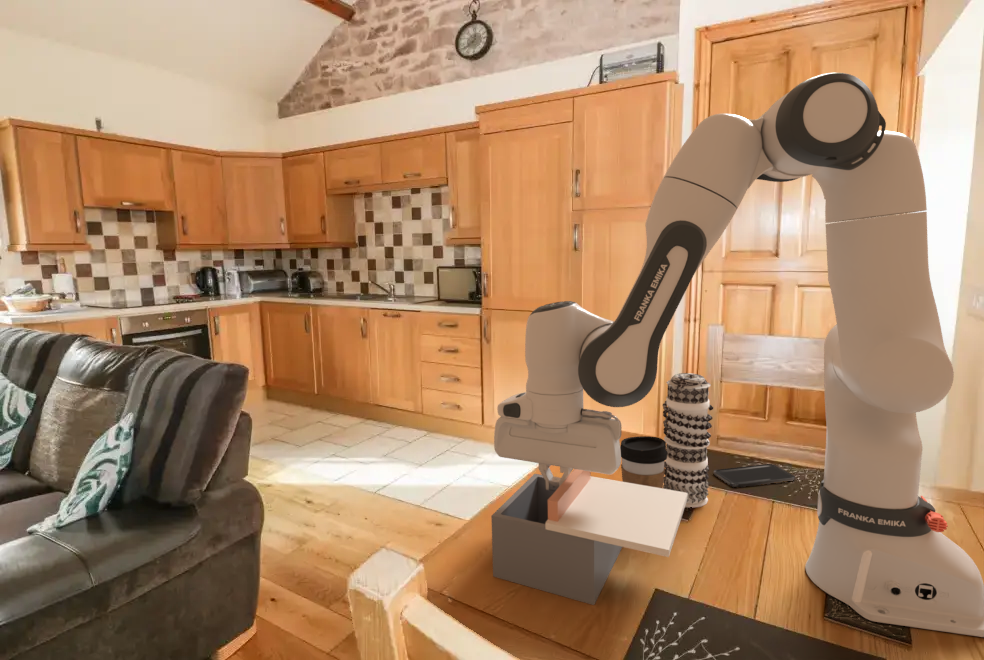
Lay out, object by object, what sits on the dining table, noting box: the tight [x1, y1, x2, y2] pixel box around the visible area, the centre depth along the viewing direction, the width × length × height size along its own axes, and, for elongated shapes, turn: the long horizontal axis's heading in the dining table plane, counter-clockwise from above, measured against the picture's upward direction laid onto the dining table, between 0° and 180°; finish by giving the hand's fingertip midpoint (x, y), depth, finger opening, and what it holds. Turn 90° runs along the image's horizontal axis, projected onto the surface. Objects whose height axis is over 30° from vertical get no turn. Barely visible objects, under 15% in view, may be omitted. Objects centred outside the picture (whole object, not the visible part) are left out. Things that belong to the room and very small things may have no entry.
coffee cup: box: [620, 435, 667, 489], centre depth 97 cm, size 8×8×15 cm
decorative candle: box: [662, 372, 714, 509], centre depth 104 cm, size 9×9×25 cm
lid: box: [545, 469, 688, 558], centre depth 80 cm, size 17×18×4 cm
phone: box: [713, 463, 796, 488], centre depth 115 cm, size 8×1×15 cm
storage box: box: [491, 473, 623, 606], centre depth 85 cm, size 16×17×10 cm
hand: (556, 489), depth 85 cm, fingers closed
